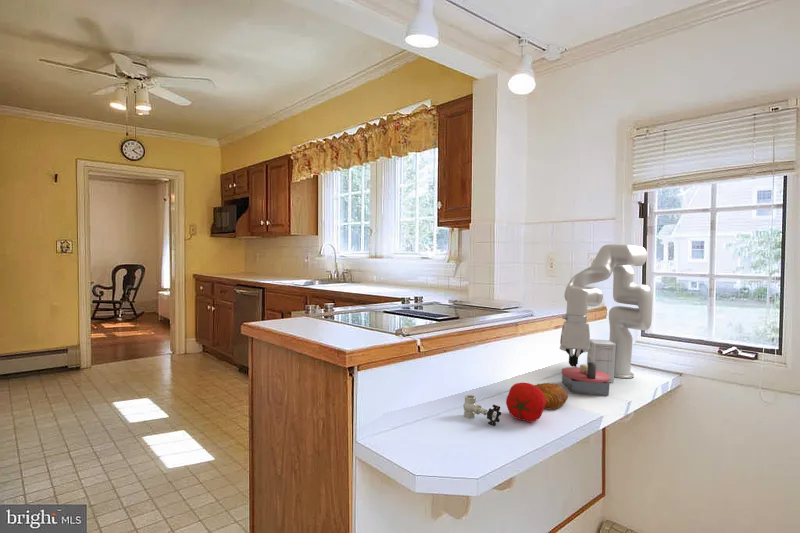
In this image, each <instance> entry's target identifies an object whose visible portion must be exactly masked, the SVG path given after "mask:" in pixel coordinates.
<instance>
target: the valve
mask: <svg viewBox="0 0 800 533" xmlns="http://www.w3.org/2000/svg"><path fill="white" fill-rule="evenodd" d="M476 399H477V397H476V396H475V395H473V394H467V395H465V396H464V402H463V411H464V412H463V417H464V418H467V419H475V418H476V417H475V416H476V415H480V414H481V415H484V416H486V419H487V420H489V421H487V424H488V425H489V426H493V427H495V426H496V425H497V423H500V418H499V417H500V416H501V415H502V412H501V411H500V410H501V406H499V405H496V404H492V405H491V406H492V408H488V410H487V409H486V408H483V407H482V405H481V404H478V403H477V404H476V401H477V400H476Z"/></svg>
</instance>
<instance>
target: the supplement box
mask: <svg viewBox="0 0 800 533" xmlns="http://www.w3.org/2000/svg"><path fill="white" fill-rule="evenodd" d="M615 348H616V345H615V344H614V343H612V342H611V341H609V340H608V339H592V338H590V347H589V351H588V352H586V353H587V355H586V356H587V358H586V365H588V362H595V363H596V370H598V371H601V372H604V373H606V374H608V375H609V376H610V380H609V381H608V383H610V382H611V383H612V384H614V381H615V377H614V367H615Z"/></svg>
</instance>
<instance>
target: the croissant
mask: <svg viewBox="0 0 800 533" xmlns="http://www.w3.org/2000/svg"><path fill="white" fill-rule="evenodd" d="M534 385H535V386H536V387H537V388H539V389H540V390H541V391H542V392H543V394H544V395H545V399H546V405H545V408H546V410H551V409H553V410H555V409H559V408H560V407H561V406H563V405H564V404H565V403H566V402H567V401H568V399H569V396H568V392H567V391H566V390H565V389H564V388H563V387H561V385H559V384H555V383H550V382H543V383H537V384H534ZM545 408H544V409H545Z"/></svg>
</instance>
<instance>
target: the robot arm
mask: <svg viewBox="0 0 800 533" xmlns="http://www.w3.org/2000/svg"><path fill="white" fill-rule="evenodd" d="M647 259H648V252H647V250H646V248H645V247H643V246H640V245H639V246H638V245H633V244H632V245H631V244H614V243H613V244H611V243H609V244H606V245H602V246H601V248H599V251H598V252H597V253H596V255H595V258H594V259H593V261H592V263H591V265H590V266H589V267H587V268H585V269H583V270H581V271H579V272H578V273H576V274H575V275H573V277H571V278H570V280H569V282H568V284H567V286H566V287H565V290H564V296H563V297H564V299H565V301H566V313H565V314H563V315H562V317H561V319H564V321H563V324H562V329H561V332H560V344H559V345H560V346H559V350H561V351H562V352H566V354H568V364H569V365H570V366H569V367H577V365H578V364H579V357H580V356H581V355H582V354H583V353H588V351H589V347H590V339H591V336H590V334H591V333H590V324H589V323H587V321H588V307H597V306H599V305H601V304H602V302H603V301H604V300H603V299H604V294H603V292H602V291H601V289H600V288H598V287H592V286H588V285H591V284H596V283H599V282H604V281H606V280H608V279H609V278H610V277H611V275H613V280H612V281H613V282H612V297H613V300H614V302H616V303H618V304H624V305H630V306H631V305H632V306H637V307H630V306H624V305H623V306H622V305H617V306H613V307H611V308H610V309H609V312H608V323H609V341H611V342H612V343H614V344H615V345H616V348H615V367H614V378H618V379H619V378H620V379H633V378H634V377H635V374H634V373H633V372H632V371H631V368H632V367H631V366H632V352H633V335H632V333H631V332H630V330H629V329H632V330H638V331H639V330H640V331H647V330H649V329H650V327H651V326H652V319H653V291H652V288H651V287H650V286H649V285H646V284H639V283H635V271H634V269H633V267H642V266H643V265H645V263H646V262H647ZM632 377H633V378H632Z"/></svg>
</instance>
